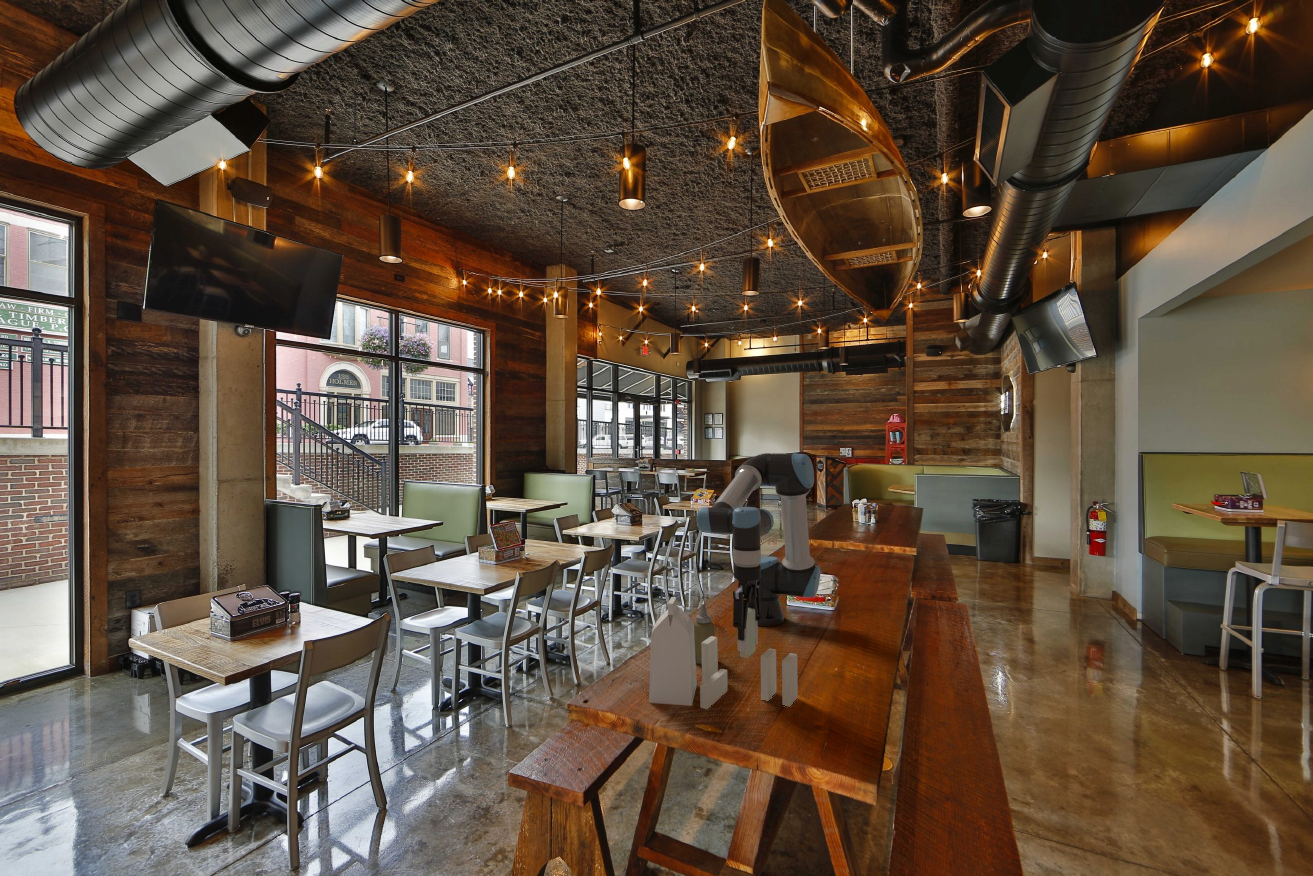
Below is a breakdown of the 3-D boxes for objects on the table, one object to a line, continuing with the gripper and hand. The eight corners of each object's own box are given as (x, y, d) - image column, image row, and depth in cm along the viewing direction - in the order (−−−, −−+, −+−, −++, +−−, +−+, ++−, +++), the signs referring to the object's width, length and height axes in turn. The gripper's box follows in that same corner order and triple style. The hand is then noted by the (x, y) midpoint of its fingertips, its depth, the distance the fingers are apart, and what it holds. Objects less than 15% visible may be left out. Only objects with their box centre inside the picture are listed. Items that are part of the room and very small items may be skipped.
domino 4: (761, 700, 154) (760, 656, 153) (769, 691, 159) (769, 648, 158) (768, 702, 152) (767, 657, 152) (776, 693, 157) (776, 649, 157)
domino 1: (702, 684, 163) (701, 642, 163) (711, 676, 168) (711, 636, 168) (708, 686, 162) (707, 644, 162) (717, 677, 167) (717, 637, 167)
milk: (656, 682, 165) (655, 593, 164) (696, 685, 163) (695, 594, 162) (649, 702, 153) (647, 606, 152) (691, 705, 151) (690, 608, 151)
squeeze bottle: (696, 668, 174) (695, 609, 174) (687, 658, 182) (686, 601, 181) (720, 665, 176) (720, 607, 176) (711, 655, 184) (710, 599, 183)
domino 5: (782, 706, 150) (782, 660, 150) (790, 696, 155) (790, 652, 155) (789, 708, 149) (789, 662, 149) (797, 698, 154) (797, 654, 154)
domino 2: (721, 689, 160) (700, 708, 150) (720, 668, 160) (700, 685, 150) (727, 691, 159) (707, 710, 149) (727, 670, 159) (706, 687, 149)
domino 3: (739, 656, 156) (739, 613, 156) (748, 649, 161) (748, 607, 161) (746, 658, 155) (746, 614, 155) (755, 650, 160) (755, 608, 160)
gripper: (748, 555, 168) (749, 633, 168) (719, 569, 152) (719, 656, 152) (772, 558, 164) (773, 638, 164) (745, 573, 148) (745, 662, 148)
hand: (747, 647), depth 158 cm, fingers closed on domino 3, 6 cm apart
